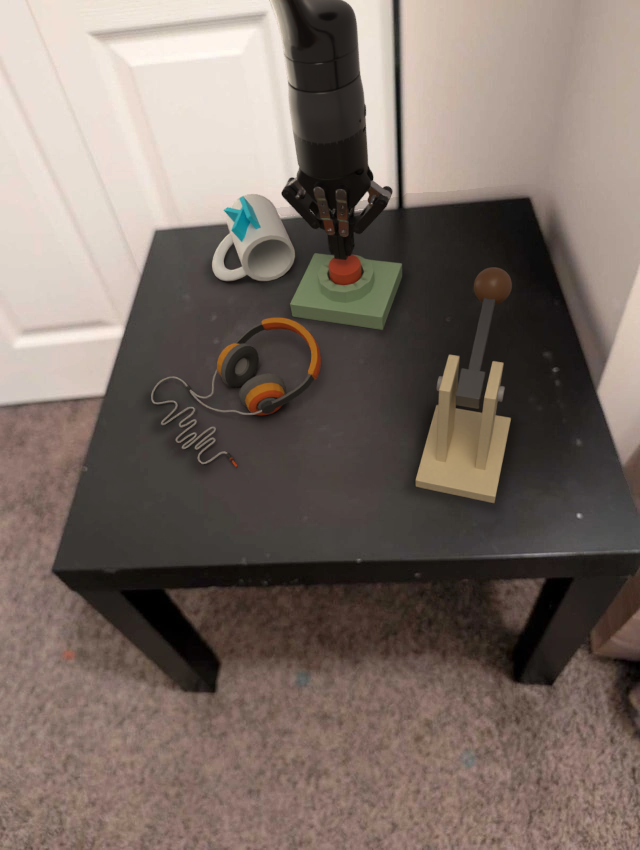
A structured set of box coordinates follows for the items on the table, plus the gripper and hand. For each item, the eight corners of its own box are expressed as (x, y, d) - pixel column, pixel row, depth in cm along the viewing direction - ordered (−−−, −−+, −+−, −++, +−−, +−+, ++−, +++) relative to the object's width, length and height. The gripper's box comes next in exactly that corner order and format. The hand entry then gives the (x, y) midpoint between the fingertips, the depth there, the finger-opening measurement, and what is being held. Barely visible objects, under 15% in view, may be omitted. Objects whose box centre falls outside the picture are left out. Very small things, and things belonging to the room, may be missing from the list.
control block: (402, 276, 88) (401, 252, 85) (382, 330, 83) (381, 306, 79) (316, 265, 91) (312, 242, 88) (292, 316, 86) (287, 293, 83)
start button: (365, 266, 85) (364, 255, 83) (356, 287, 82) (355, 276, 81) (335, 262, 86) (333, 251, 84) (325, 283, 84) (324, 272, 82)
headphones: (129, 384, 78) (262, 279, 80) (152, 406, 83) (278, 306, 84) (195, 481, 69) (344, 361, 71) (217, 499, 74) (356, 386, 75)
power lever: (477, 278, 68) (477, 257, 64) (513, 282, 67) (516, 262, 63) (448, 406, 63) (447, 391, 60) (486, 413, 62) (487, 398, 59)
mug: (246, 164, 90) (267, 214, 83) (282, 210, 97) (304, 260, 90) (178, 216, 93) (193, 268, 86) (217, 256, 100) (235, 308, 92)
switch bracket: (436, 411, 74) (439, 330, 64) (509, 424, 72) (525, 342, 62) (415, 486, 69) (415, 411, 59) (494, 503, 67) (508, 427, 56)
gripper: (255, 135, 68) (282, 269, 81) (382, 144, 64) (387, 282, 78) (280, 96, 72) (302, 230, 85) (401, 103, 68) (403, 241, 82)
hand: (343, 255), depth 82 cm, fingers closed
